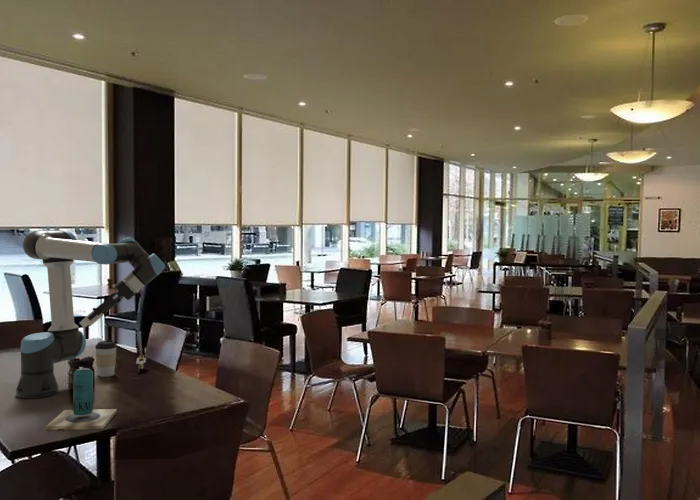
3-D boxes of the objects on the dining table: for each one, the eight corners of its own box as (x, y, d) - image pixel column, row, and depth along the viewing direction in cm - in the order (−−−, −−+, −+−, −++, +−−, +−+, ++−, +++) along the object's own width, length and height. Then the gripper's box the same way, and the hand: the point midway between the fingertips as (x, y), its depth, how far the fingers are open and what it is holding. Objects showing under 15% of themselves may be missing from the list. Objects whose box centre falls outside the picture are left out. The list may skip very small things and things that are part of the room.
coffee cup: (109, 377, 270) (109, 344, 270) (90, 376, 272) (90, 342, 271) (120, 373, 279) (120, 340, 278) (102, 371, 281) (102, 339, 280)
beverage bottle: (76, 414, 215) (76, 357, 214) (96, 414, 216) (96, 357, 215) (69, 420, 209) (69, 361, 208) (89, 420, 209) (89, 361, 208)
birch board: (45, 429, 202) (45, 426, 202) (64, 413, 220) (64, 409, 220) (102, 429, 204) (102, 425, 204) (116, 412, 222) (116, 408, 222)
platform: (155, 365, 296) (155, 352, 296) (154, 374, 279) (154, 360, 279) (128, 366, 293) (128, 353, 293) (126, 376, 276) (126, 361, 276)
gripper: (133, 293, 225) (86, 333, 220) (138, 293, 250) (96, 330, 244) (119, 278, 225) (71, 318, 220) (125, 280, 249) (83, 316, 244)
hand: (84, 324), depth 232 cm, fingers open, 13 cm apart
